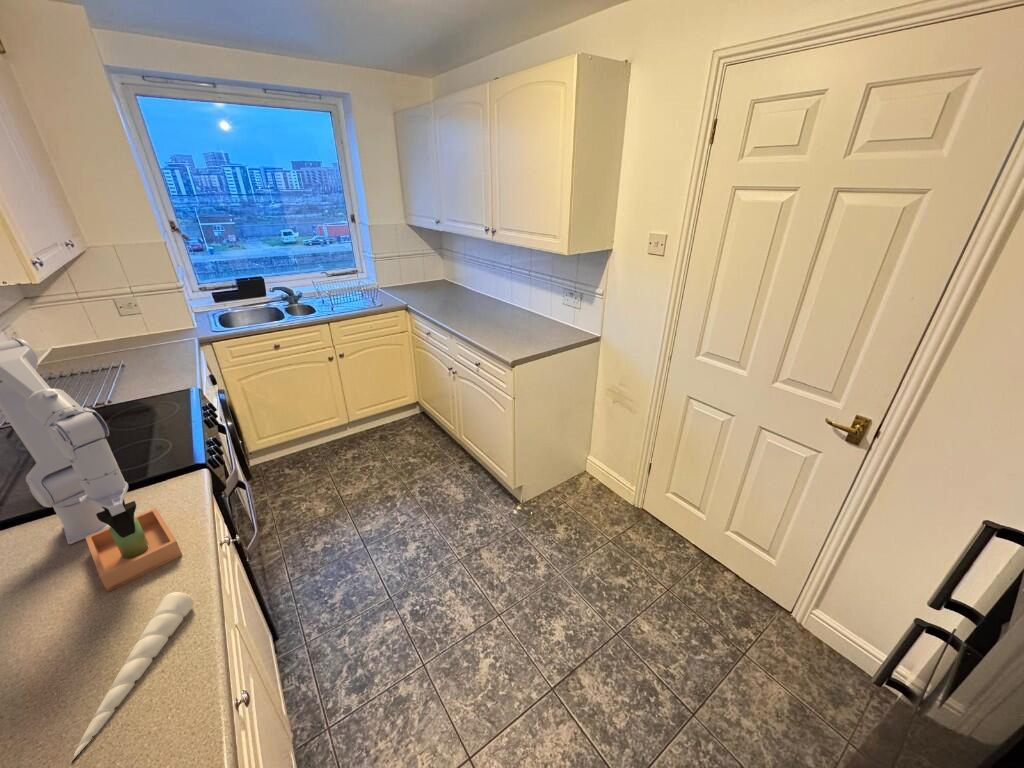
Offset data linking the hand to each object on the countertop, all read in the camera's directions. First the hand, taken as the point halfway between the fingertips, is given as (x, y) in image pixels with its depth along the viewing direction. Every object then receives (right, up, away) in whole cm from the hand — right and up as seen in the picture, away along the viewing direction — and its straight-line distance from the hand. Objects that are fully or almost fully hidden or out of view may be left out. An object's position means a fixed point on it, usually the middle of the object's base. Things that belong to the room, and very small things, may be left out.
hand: (124, 525), depth 86 cm
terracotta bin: (0, -7, +3) cm, 8 cm away
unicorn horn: (+20, -17, -18) cm, 32 cm away
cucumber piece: (0, -6, +3) cm, 7 cm away
